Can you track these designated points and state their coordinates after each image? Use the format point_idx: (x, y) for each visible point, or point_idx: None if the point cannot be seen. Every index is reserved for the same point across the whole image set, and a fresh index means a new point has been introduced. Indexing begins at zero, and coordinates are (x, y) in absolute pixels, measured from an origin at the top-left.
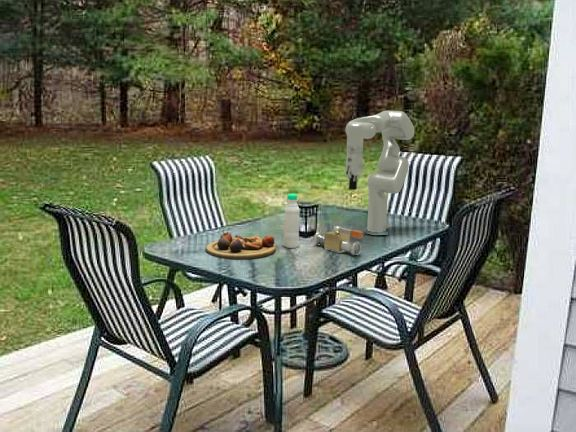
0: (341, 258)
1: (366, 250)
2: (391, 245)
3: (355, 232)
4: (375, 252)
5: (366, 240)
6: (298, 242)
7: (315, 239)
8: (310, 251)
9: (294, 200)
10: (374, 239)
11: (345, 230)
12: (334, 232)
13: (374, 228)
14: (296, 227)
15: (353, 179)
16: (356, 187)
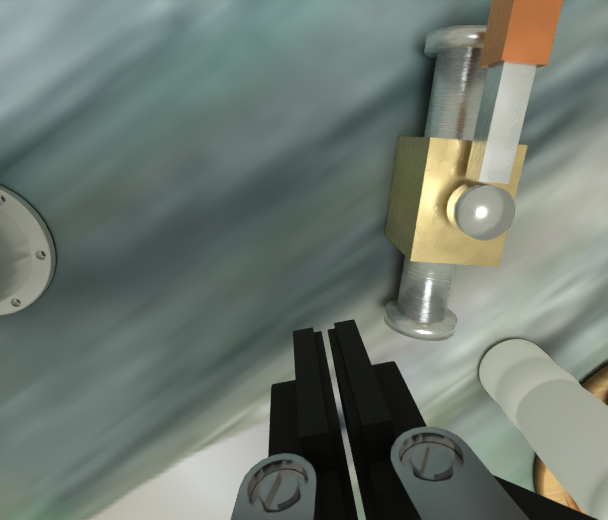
0: (545, 76)
1: (322, 71)
2: (116, 24)
3: (556, 10)
4: (321, 5)
5: (149, 199)
6: (506, 352)
7: (452, 314)
8: (525, 261)
9: None
10: (93, 180)
11: (519, 124)
12: (457, 232)
13: (4, 240)
14: (585, 396)
15: (491, 490)
16: (303, 343)
